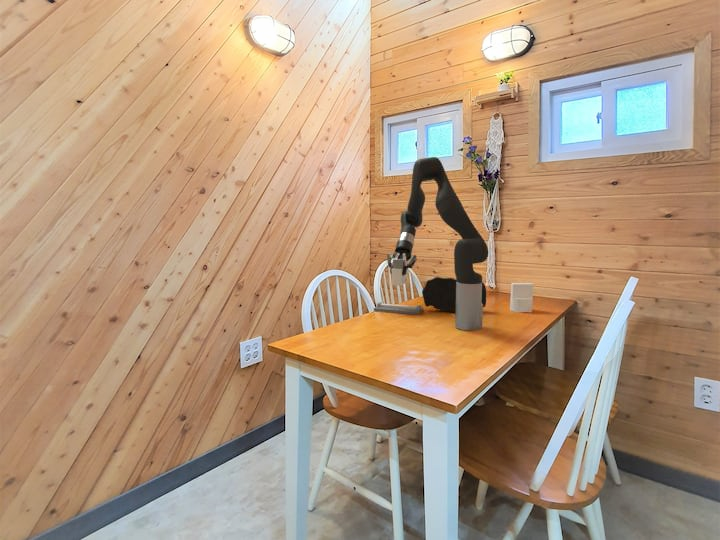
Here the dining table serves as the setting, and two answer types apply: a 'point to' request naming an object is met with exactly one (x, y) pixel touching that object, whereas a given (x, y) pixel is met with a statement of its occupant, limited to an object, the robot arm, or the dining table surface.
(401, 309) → the rail plate
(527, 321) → the dining table surface
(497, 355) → the dining table surface
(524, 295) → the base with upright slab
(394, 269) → the din module
